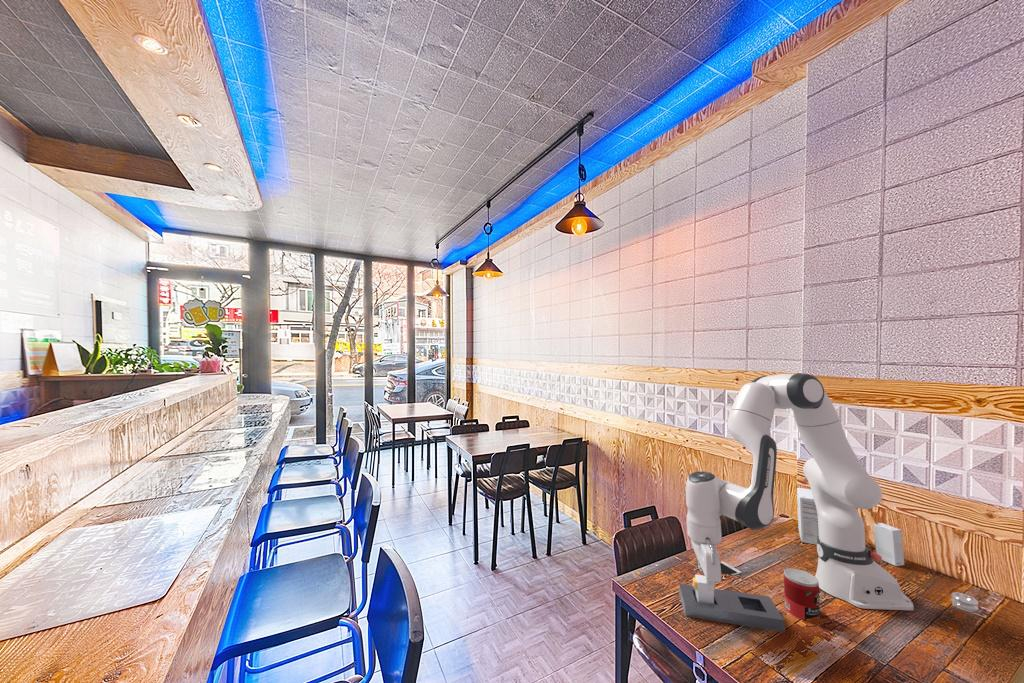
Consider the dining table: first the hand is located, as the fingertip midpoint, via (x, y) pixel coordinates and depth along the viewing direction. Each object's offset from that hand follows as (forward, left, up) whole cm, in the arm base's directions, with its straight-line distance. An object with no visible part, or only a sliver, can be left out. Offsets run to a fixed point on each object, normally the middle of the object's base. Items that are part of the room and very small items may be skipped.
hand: (706, 579), depth 107 cm
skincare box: (-68, -45, -9) cm, 83 cm away
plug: (+1, 0, -8) cm, 8 cm away
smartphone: (-7, -22, -10) cm, 25 cm away
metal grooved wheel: (-73, -21, -9) cm, 76 cm away
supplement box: (-53, -57, -9) cm, 79 cm away
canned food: (-25, -5, -9) cm, 28 cm away
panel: (-5, 0, -9) cm, 11 cm away
